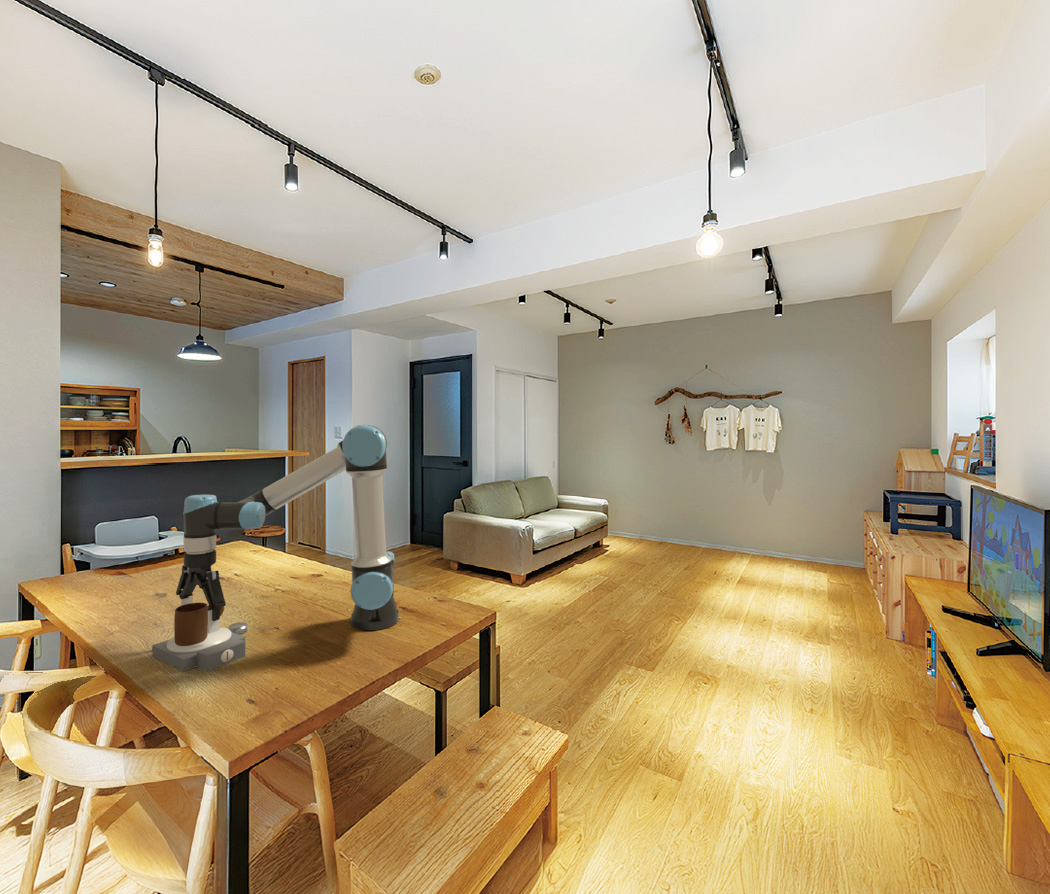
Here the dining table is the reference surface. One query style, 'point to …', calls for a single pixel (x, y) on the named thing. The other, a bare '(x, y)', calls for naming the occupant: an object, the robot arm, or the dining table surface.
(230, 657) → the scale
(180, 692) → the dining table surface
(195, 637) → the mug
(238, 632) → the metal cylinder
